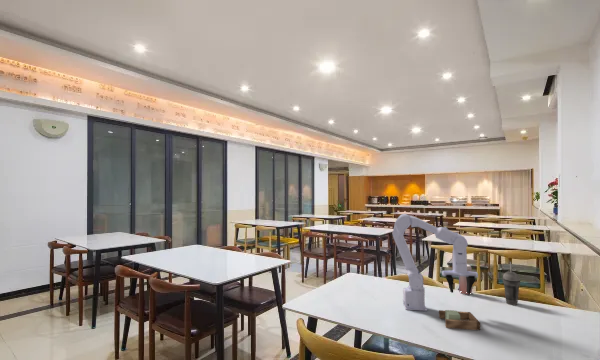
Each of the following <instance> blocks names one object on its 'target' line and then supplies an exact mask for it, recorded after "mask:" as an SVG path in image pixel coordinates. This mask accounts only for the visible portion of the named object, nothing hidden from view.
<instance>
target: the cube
mask: <svg viewBox="0 0 600 360" xmlns="http://www.w3.org/2000/svg"><path fill="white" fill-rule="evenodd" d="M444 311H445V319H452V320H460V314H459V313H458V312H457V311H458V310H451V309H450V310H449V309H445V310H444ZM445 319H444V320H445Z"/></svg>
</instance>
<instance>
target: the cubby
mask: <svg viewBox="0 0 600 360" xmlns="http://www.w3.org/2000/svg"><path fill="white" fill-rule="evenodd" d="M456 311H457V312H458V313H459V314H460V320H452V319H445V310H441V309H440V310H438V318H439V319H444V320H445V323H444V325H445V328H446V329H456V330H459V329H460V330H471V331H472V330H473V331H481V321H479V319H477V318H476V317H475V316H474V314H473V313H472V312H470V311H458V310H456Z"/></svg>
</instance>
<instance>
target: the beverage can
mask: <svg viewBox="0 0 600 360" xmlns="http://www.w3.org/2000/svg"><path fill="white" fill-rule="evenodd" d="M467 271H470V272H473V271H472V265H471V264H468V263H467ZM472 289H473V287H472V288H471V291H470V293H471V294H473V292H472V291H473V290H472ZM460 291H462V292H461V293H460ZM458 292H459V293H460V294H462V295H464V294H465V296H470V295H471V294H468V293H466V292H467V282H466V277H465V276H458Z"/></svg>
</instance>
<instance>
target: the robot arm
mask: <svg viewBox="0 0 600 360" xmlns="http://www.w3.org/2000/svg"><path fill="white" fill-rule="evenodd" d="M409 227H411V228H420V229H423V230H424V231H426V232H429V233H432V234H434V236H435V238H436V239H438V240H439V241H442V242H445V243H446V244H449V245H452V269H451V270H449V269H448V270H441V271H442V272H441V275H442V276H443V277H445V279H446V282H447V283H448V287H449V291H450V293H451V294H452V293H454V281H455V280H454V279H455V278H454V277H459V276H465V277H466V282H467V293H468V294H470V291H471V288H472V289H473V285H474V284H475V282H476V278H479V273H478V272H477V271H472V272H470V271H467V264H468V263H467V262H468V256H467V255H468V253H467V248H468V244H469V243H468V241H467V239H466V238H465V236H463V235H462V234H460V233H458V232H456V231H455V232H454V231H452V230H450V229H448V227H446V226H444V227H443V226H440V227H437V226H436V225H435V226H434V225H432V224H431V223H428V222H427V221H424V220H423V219H420V218H419V217H416V216H413V215H409V214H408V213H402V214H400V215H399V216H398V217H397V218H396V220H395V222H394V226H393V230H392V233H391V234H392V237H393V240H394V243H395V244H396V248H397V250H398V252H399V255H400V257H401V260H402V262H403V266H404V267H405V269H406V270H405V271H406V274H407V276H408V277H407V278H408V287H404V288H403V290H402V292H403V296H402V297H403V299H402V302H403V306H404V308H405V310H408V311H421V312H423V311H426V312H427V311H428V309H427V307H426V306H425V305H426V303H425V301H426V299H425V297H426V296H425V293H426V292H425V291H426V290H425V287H424V275H423V274H422V273H421V272H420V271H419V268H418V267H417V266H416V263H415V261H414V258H413V255H412V253H411V250H410V248H409V246H408V244H407V241H406V239H405V236H404V235H405V232H406V230H407V229H408V228H409ZM470 295H471V294H470Z"/></svg>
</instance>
